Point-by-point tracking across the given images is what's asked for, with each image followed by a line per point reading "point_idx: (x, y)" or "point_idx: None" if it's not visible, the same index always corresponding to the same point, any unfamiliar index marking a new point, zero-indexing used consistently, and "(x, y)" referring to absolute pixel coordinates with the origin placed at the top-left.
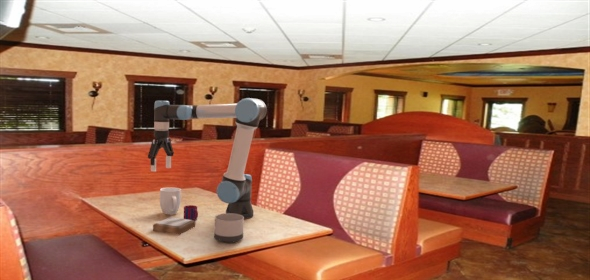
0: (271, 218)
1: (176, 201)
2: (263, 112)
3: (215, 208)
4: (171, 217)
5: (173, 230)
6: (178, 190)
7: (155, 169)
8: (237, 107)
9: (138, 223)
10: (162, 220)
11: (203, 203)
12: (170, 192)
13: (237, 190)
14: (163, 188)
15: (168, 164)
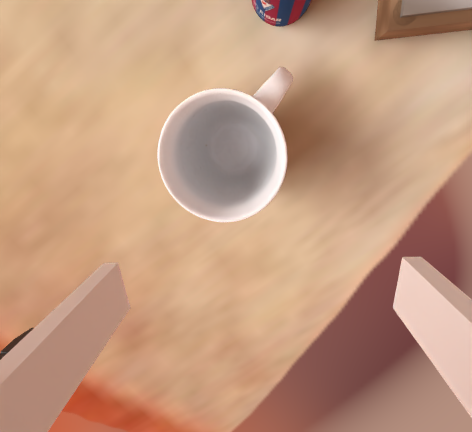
0: None
1: (281, 68)
2: None
3: (48, 10)
4: (410, 3)
5: None
6: (170, 136)
7: (433, 271)
8: None
9: (420, 156)
10: (458, 23)
11: (26, 122)
12: (276, 119)
13: None
14: (216, 217)
15: (99, 309)
